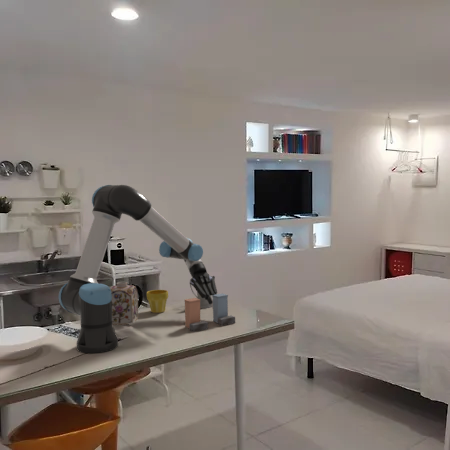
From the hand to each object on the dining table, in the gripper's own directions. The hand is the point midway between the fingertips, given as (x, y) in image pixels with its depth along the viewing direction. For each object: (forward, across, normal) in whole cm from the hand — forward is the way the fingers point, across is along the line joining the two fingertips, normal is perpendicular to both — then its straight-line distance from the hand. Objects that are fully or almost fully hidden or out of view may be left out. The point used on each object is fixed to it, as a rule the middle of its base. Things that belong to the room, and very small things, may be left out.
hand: (216, 309), depth 211 cm
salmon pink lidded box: (+6, +14, -1) cm, 15 cm away
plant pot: (-19, +12, -28) cm, 36 cm away
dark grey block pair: (+6, +7, -2) cm, 10 cm away
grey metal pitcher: (-17, -11, -26) cm, 33 cm away
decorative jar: (-14, +33, -24) cm, 43 cm away
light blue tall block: (+6, 0, -1) cm, 6 cm away
